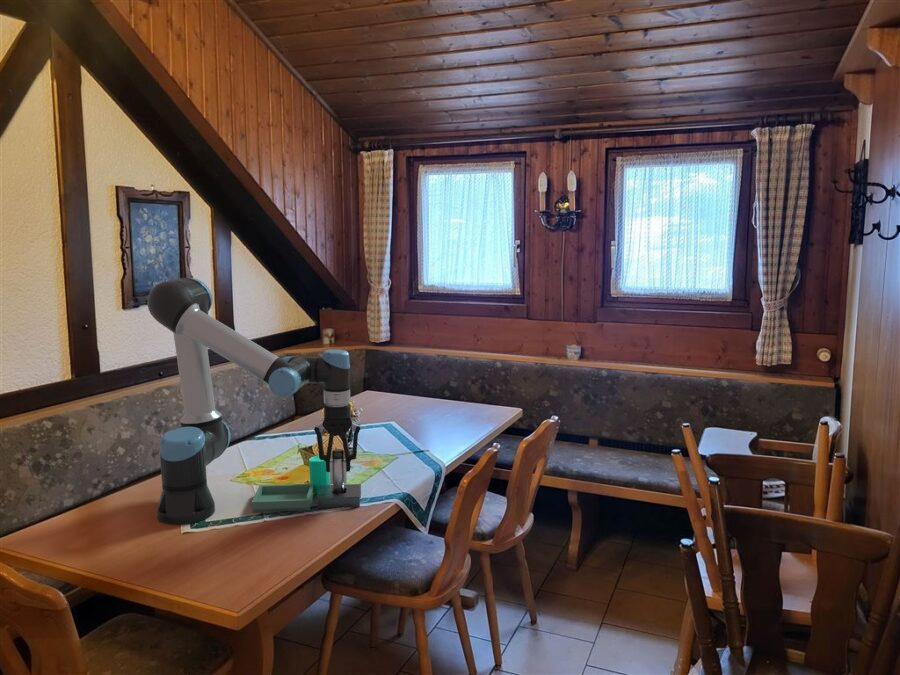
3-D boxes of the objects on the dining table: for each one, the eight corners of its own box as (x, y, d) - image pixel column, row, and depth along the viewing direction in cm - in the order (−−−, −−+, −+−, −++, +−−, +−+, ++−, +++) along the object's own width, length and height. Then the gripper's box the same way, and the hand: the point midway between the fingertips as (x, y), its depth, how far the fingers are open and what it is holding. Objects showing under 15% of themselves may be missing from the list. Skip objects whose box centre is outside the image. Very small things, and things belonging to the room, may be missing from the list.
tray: (251, 512, 202) (251, 502, 202) (260, 494, 215) (259, 485, 214) (309, 510, 204) (309, 500, 203) (314, 493, 216) (313, 483, 216)
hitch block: (317, 508, 205) (317, 498, 205) (320, 494, 215) (320, 485, 215) (359, 506, 206) (359, 496, 206) (360, 493, 216) (360, 484, 216)
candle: (326, 495, 215) (324, 457, 213) (307, 494, 216) (305, 456, 214) (333, 488, 221) (331, 451, 219) (314, 487, 222) (313, 450, 220)
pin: (332, 499, 209) (331, 452, 206) (333, 495, 212) (332, 449, 210) (344, 498, 209) (343, 452, 207) (344, 494, 212) (343, 449, 210)
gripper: (306, 407, 202) (308, 487, 205) (365, 406, 203) (366, 486, 207) (309, 401, 209) (311, 478, 213) (366, 400, 210) (366, 477, 214)
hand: (338, 482), depth 210 cm, fingers closed on pin, 3 cm apart
